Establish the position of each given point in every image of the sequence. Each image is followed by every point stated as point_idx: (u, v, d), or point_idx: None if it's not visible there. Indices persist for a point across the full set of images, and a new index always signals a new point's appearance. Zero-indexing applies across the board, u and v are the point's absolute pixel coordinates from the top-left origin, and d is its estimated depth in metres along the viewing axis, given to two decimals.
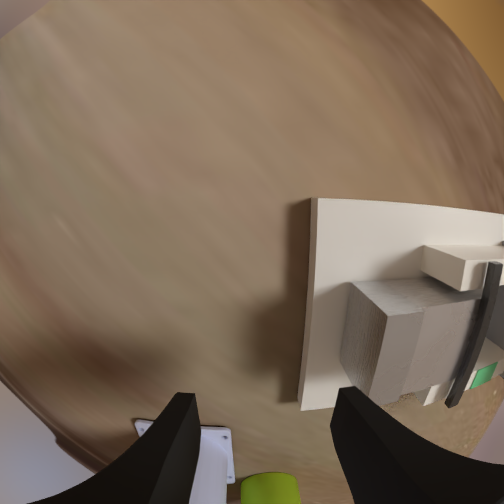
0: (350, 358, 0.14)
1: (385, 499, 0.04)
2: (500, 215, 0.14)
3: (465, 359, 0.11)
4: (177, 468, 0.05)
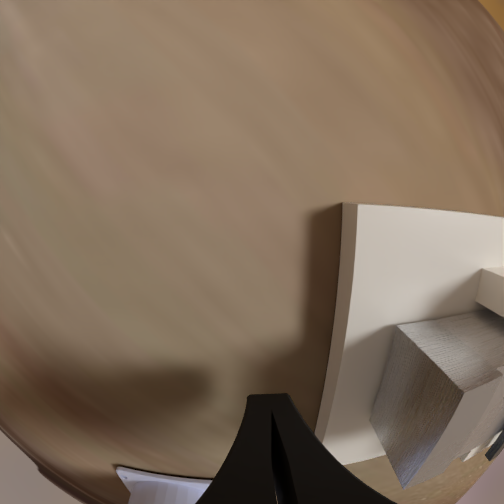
0: (387, 423, 0.09)
1: None
2: None
3: None
4: None
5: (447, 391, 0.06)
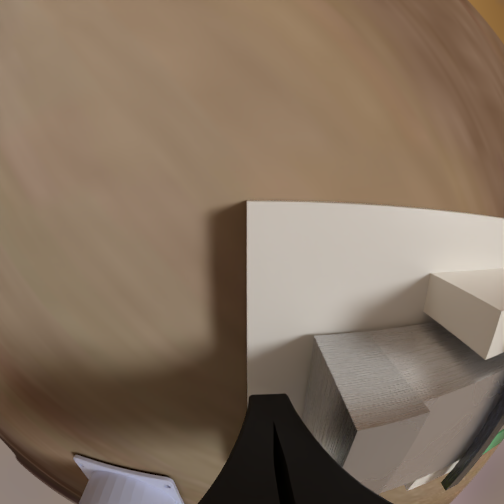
0: None
1: None
2: None
3: (478, 439, 0.06)
4: None
5: (344, 423, 0.05)
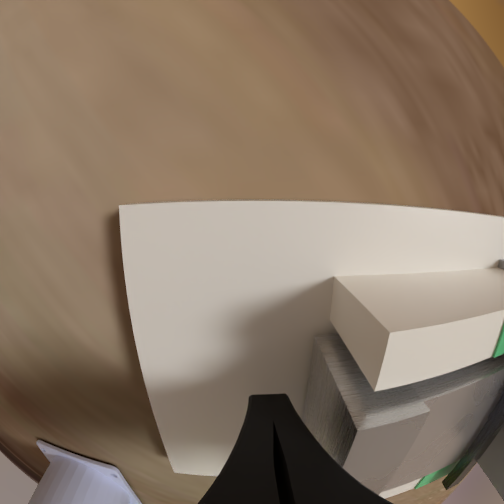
0: None
1: None
2: (497, 218, 0.09)
3: (478, 438, 0.06)
4: None
5: (344, 422, 0.05)
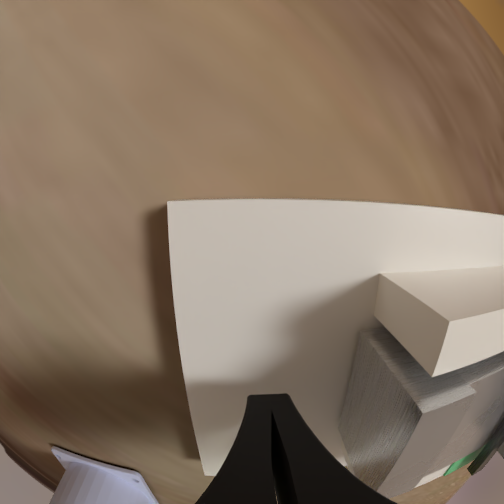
0: (352, 434, 0.08)
1: None
2: None
3: (503, 423, 0.06)
4: None
5: (406, 408, 0.05)
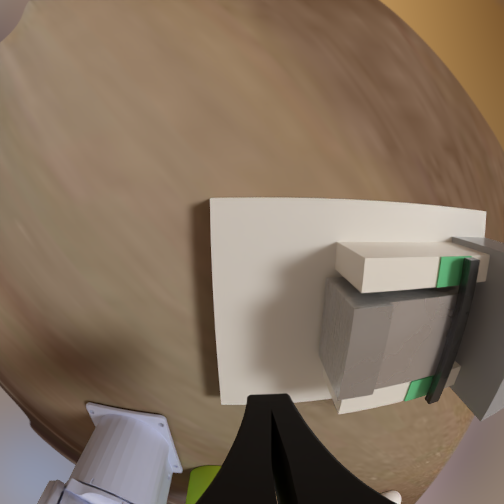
0: (326, 351, 0.15)
1: None
2: (448, 208, 0.15)
3: (443, 354, 0.12)
4: None
5: (347, 311, 0.12)
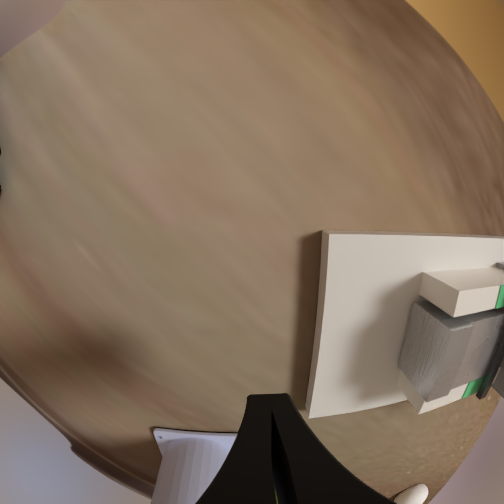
0: (410, 363, 0.15)
1: None
2: (496, 239, 0.16)
3: (493, 359, 0.13)
4: None
5: (443, 332, 0.12)
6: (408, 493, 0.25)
